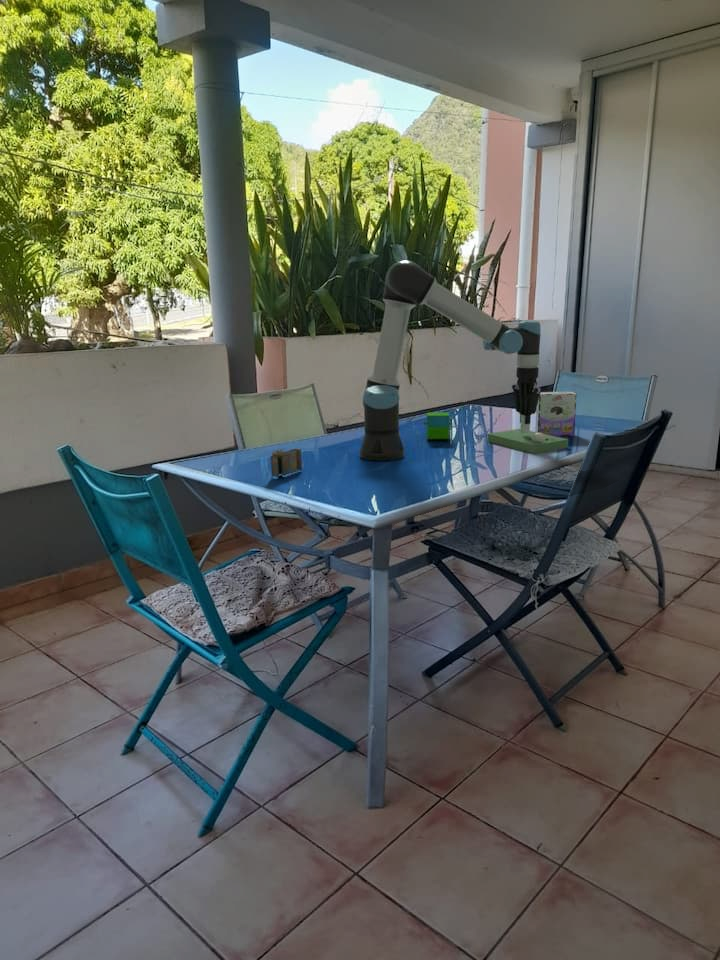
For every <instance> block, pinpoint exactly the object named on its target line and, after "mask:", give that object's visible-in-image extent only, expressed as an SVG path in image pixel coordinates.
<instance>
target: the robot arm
mask: <svg viewBox="0 0 720 960" xmlns="http://www.w3.org/2000/svg"><path fill="white" fill-rule="evenodd" d="M384 281H385V283H384V289H383V295H382V302H383V303H384V304H385V308H384V314H383V320H382V323H381V330H380V335H379V341H378V345H377V350H376V356H375V360H374V361H375V362H374V366H373V372H372V374H371V375H370V376H368V377H367V381H366V386H365V389H364V392H363V396H362V406H363V412H364V413H363V414H364V415H363V416H364V417H363V418H364V436H363V439H362V442H361V446H360V450H359V457H360V458H361V459H362V458H363V460H365V459H367V461H371V460H375V461H374V462H387V461H386V460H391V461H396V460H395V459H397V460H400V458H401V459H403V458H404V457H405V449H404V445H403V442H402V438H401V437H400V423H399V421H400V416H399V415H400V413H399V412H400V408H399V407H400V405H399V404H400V402H399V401H400V394H399V392H400V385H401V383H400V382H399V381H398V374H399V371H400V370H399V369H400V364H401V358H402V355H403V354H402V353H403V349H404V344H405V338H406V334H407V329H408V325H409V324H408V323H409V321H410V320H409V319H410V313H411V310H412V309H413V308H415V307H416V306H417V305H419V306H421V305H426V307H429V308H431V309H432V310H434V311H436V312H437V313H439V314H440V315H442V316H444V317H445V318H447V319H448V320H450V321H452V322H453V323H455V324H457V325H458V326H460V327H462V328H464V329H465V330H467V331H468V332H469V333H472V334H473V335H475V336H477V337H478V338H479V339H481V340H482V346H483V349H484V350H486V351H500V352H502V353H504V354H507V355H512V354H516V353H517V354H516V366H517V367H516V372H515V373H516V378H517V381H516V383H515V384H512V386H511V388H512V391H513V397H514V404H515V405H514V407H515V411H516V413H518V414H519V424H520V428H519V429H520V433H529V431H530V424H531V419H532V418H531V417H532V416H531V415H536V408H537V404H538V399H539V395H540V393H541V392H543V388H542V387H539V386H538V382H537V379H538V377H539V367H538V366H539V363H540V345H541V344H540V343H541V323H540V322H539V321H536V320H535V321H532V320H530V321H529V320H528V321H527V320H526V321H520V322H518V325H517V327H509V326H507V325H505V324H504V323H502V322H500V321H499V320H498V319H496V318H494V317H493V316H491V315H490V314H488V313H487V312H484V311H483V310H482V309H480V308H479V307H476V306H475V305H473V304H471V303H470V302H469V301H467V300H465V299H464V298H462V297H460V296H459V295H457V293H454V292H452V291H451V290H449V289H448V288H446V287H445V286H443V285H441V284H440V283H438V282H437V279H436V277H434V276H433V275H432V274H430V273H429V272H427V271H426V270H424V269H423V267H421V266H420V265H418V264H417V263H416V262H414V261H412V260H407V259H406V260H405V259H404V260H400V261H397V262H395V263H394V264H392V265H391V266H390V267H389V268H388V270H387V271H386V274H385V279H384ZM402 457H403V458H402Z"/></svg>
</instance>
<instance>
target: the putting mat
mask: <svg viewBox="0 0 720 960" xmlns="http://www.w3.org/2000/svg"><path fill="white" fill-rule="evenodd" d="M520 429H521V428H515V429H510V430H502V431H497V432H490V433H487V440H486V441H487V443H491V444H494V443H495V445H498V444H499V446H503V447H507V448H510V449H515V450H517V449H518V450H517V451H521V450H522V452H525V451H526V453H529V452H530V453H529V454H533V453H536V454H541V453H540V452H542V453H547V452H551V451H557V450H562V449H568V446H569V439H568V438H563V437H561V436H551V435H546V434H544V435H545V437H546V441H532V440H531V438H532V436H533V435H534V434H535V433H537V432H535V431H533V430H529V433H520ZM546 451H547V452H546Z"/></svg>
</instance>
